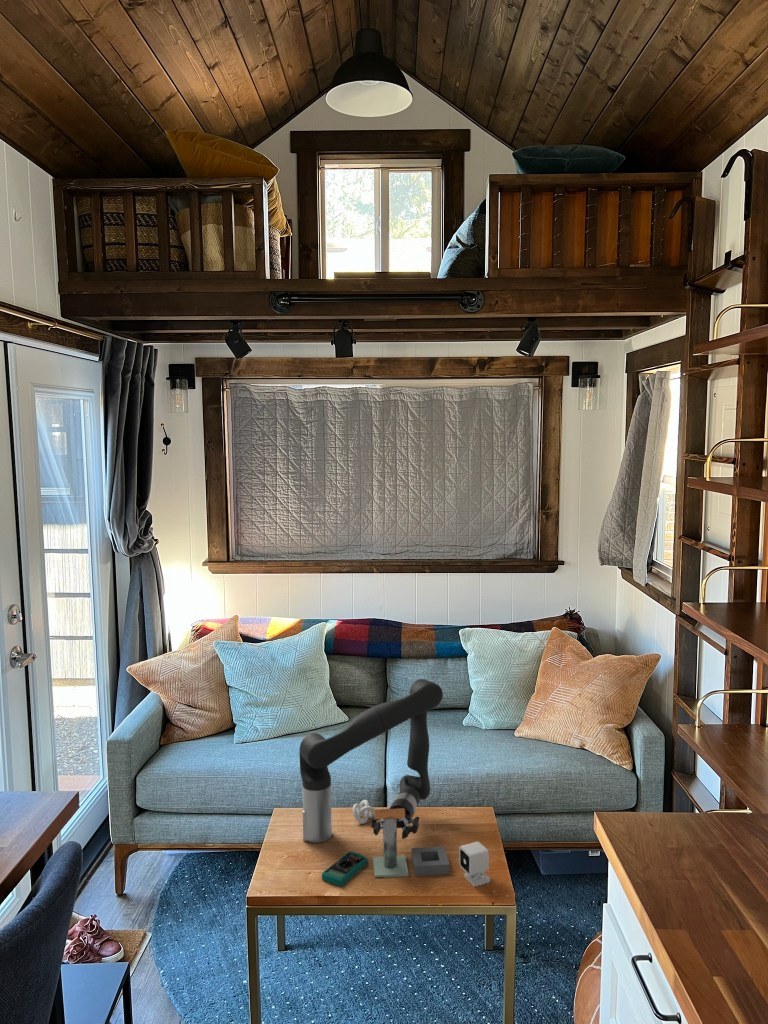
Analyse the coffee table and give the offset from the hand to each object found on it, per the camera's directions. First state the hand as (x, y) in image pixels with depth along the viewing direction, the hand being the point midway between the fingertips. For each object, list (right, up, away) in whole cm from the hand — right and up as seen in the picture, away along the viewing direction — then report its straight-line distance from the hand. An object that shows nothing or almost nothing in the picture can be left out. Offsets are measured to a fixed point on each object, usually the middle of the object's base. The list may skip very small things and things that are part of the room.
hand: (389, 834), depth 224 cm
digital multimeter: (-13, -12, 0) cm, 18 cm away
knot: (-9, -9, +31) cm, 33 cm away
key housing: (+12, -10, +2) cm, 16 cm away
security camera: (+25, -11, -6) cm, 28 cm away
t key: (0, -10, +1) cm, 10 cm away
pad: (0, -11, +1) cm, 11 cm away
